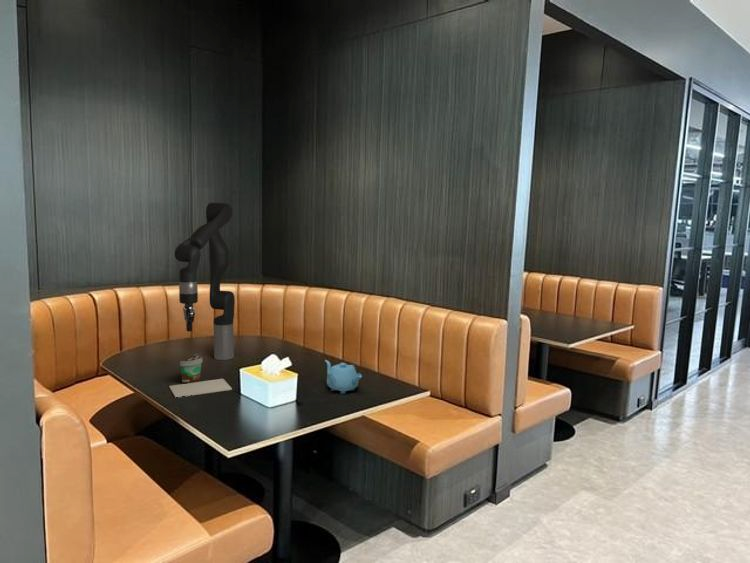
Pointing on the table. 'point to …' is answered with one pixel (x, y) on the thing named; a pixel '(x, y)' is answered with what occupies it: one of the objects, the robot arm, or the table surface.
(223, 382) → the mat
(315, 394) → the table surface
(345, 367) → the teapot
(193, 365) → the food container
